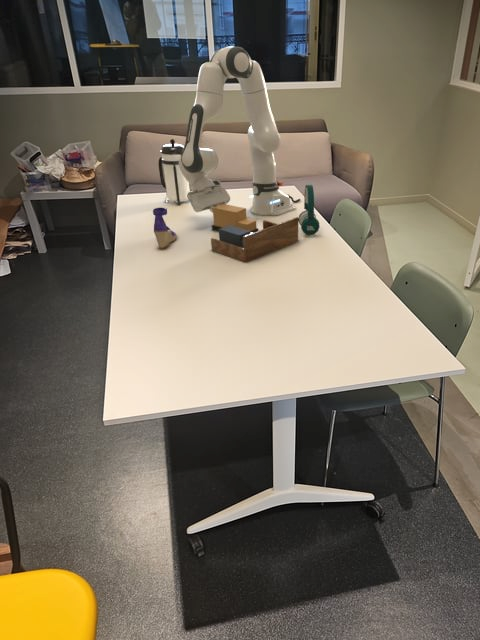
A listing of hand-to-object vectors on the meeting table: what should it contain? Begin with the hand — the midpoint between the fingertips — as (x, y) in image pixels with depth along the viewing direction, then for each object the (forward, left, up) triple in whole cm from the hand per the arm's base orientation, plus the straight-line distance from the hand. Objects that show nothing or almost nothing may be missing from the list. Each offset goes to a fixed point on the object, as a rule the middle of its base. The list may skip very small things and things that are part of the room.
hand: (219, 214), depth 228 cm
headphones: (-27, +31, -6) cm, 41 cm away
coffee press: (-6, -50, -6) cm, 51 cm away
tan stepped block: (-1, +10, -5) cm, 11 cm away
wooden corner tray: (+2, +31, -5) cm, 31 cm away
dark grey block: (+10, +31, -5) cm, 33 cm away
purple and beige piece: (+29, +2, -6) cm, 30 cm away
